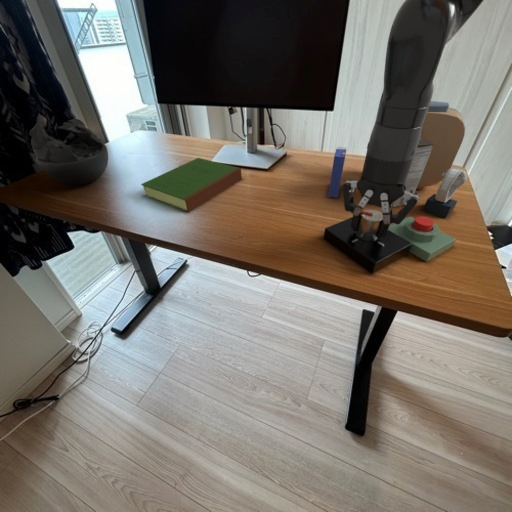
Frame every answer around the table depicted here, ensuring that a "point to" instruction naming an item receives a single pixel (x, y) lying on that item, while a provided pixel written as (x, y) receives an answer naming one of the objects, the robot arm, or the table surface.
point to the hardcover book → (192, 183)
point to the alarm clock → (441, 141)
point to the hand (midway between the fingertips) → (367, 232)
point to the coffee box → (416, 168)
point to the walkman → (337, 171)
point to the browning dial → (369, 225)
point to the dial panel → (367, 246)
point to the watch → (446, 193)
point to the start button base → (423, 239)
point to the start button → (423, 224)
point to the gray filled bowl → (70, 153)
